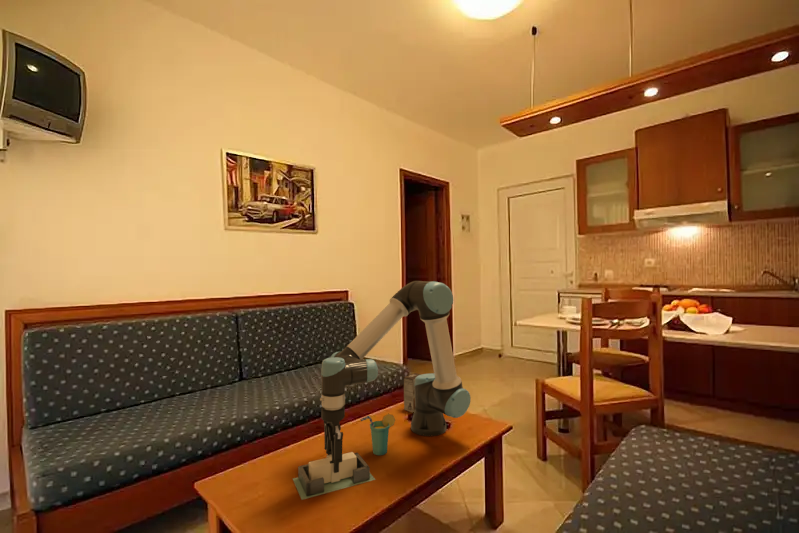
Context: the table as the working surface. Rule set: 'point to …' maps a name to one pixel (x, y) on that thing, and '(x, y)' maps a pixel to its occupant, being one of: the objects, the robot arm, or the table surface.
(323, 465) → the slat
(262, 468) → the table surface
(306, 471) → the cap
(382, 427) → the cup
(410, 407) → the coffee box
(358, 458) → the grey u-shaped bracket
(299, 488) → the mat
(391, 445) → the table surface
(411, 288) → the robot arm
